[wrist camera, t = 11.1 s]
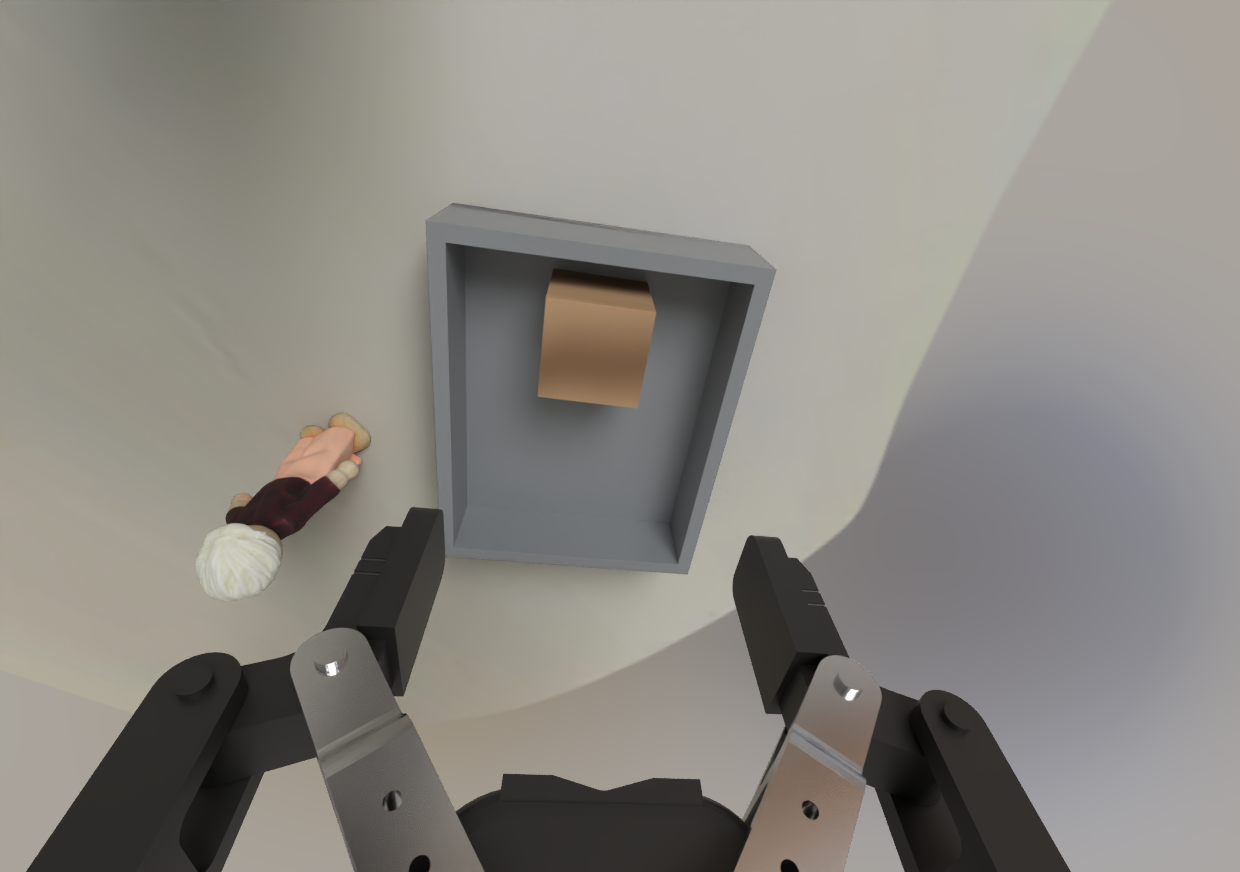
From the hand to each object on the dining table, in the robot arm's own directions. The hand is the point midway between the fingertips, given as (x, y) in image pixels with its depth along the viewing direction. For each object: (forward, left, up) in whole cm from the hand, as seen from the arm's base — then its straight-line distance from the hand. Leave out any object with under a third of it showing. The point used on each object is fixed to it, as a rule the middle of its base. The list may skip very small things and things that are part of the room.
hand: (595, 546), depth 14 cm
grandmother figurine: (+10, -15, -19) cm, 26 cm away
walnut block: (0, 0, -18) cm, 18 cm away
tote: (+5, 0, -19) cm, 20 cm away
